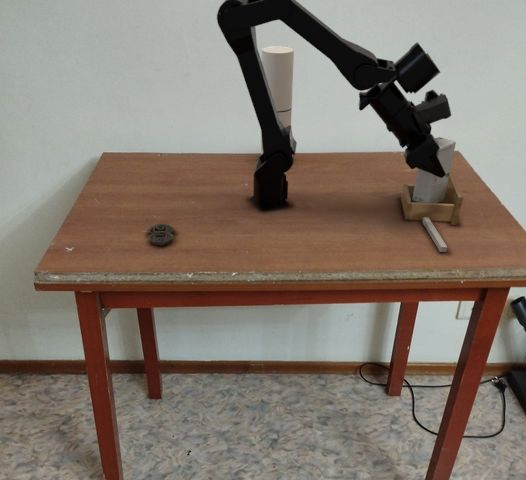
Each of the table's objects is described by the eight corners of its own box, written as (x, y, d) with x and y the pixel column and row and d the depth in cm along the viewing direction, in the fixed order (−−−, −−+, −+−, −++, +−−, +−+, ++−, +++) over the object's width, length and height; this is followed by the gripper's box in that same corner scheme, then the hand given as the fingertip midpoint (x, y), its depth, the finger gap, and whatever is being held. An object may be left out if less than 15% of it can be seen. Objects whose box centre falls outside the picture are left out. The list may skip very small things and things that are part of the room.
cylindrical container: (286, 166, 144) (291, 54, 128) (258, 164, 145) (258, 52, 129) (291, 156, 149) (296, 47, 134) (264, 153, 150) (265, 45, 135)
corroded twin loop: (147, 247, 111) (147, 242, 110) (148, 228, 117) (147, 223, 116) (174, 246, 111) (174, 241, 111) (174, 227, 118) (173, 222, 117)
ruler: (446, 251, 111) (447, 247, 110) (440, 252, 111) (441, 247, 110) (427, 221, 120) (428, 217, 120) (422, 221, 120) (423, 217, 120)
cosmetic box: (428, 207, 121) (440, 148, 113) (410, 200, 123) (421, 142, 116) (445, 199, 124) (458, 141, 117) (427, 192, 127) (438, 135, 119)
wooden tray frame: (406, 222, 120) (410, 194, 117) (400, 196, 131) (404, 169, 127) (456, 225, 120) (463, 197, 116) (447, 198, 130) (452, 172, 126)
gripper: (437, 94, 102) (486, 160, 108) (424, 67, 117) (468, 127, 123) (385, 137, 107) (434, 198, 114) (378, 107, 122) (422, 162, 128)
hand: (441, 169), depth 120 cm, fingers closed on cosmetic box, 7 cm apart
